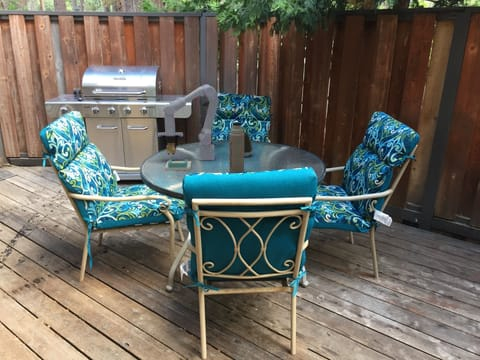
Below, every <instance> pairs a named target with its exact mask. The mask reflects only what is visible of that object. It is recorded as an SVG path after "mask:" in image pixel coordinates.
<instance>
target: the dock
mask: <svg viewBox="0 0 480 360" xmlns="http://www.w3.org/2000/svg"><path fill="white" fill-rule="evenodd" d="M191 166H192V160H188V158H187V159H184V160H175V161H173V160H172V159H169V160H167V161H166V164H165V167H164V171H190V170H191V168H192V167H191Z"/></svg>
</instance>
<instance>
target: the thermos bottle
mask: <svg viewBox="0 0 480 360" xmlns="http://www.w3.org/2000/svg"><path fill="white" fill-rule="evenodd" d="M231 127H232V128H231V129H230V132H229V174H230V173H242V172H244V173H245V157H244V133H243V132H244V128H243V127H242V122H240V121H239V122H237V121H236V122H232V126H231Z"/></svg>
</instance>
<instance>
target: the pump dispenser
mask: <svg viewBox="0 0 480 360" xmlns="http://www.w3.org/2000/svg"><path fill="white" fill-rule="evenodd" d="M243 133H244V158H248V157H249V156H250V155H251V154H252V151H253V144H252V140H251V136H250V134H249V133H248V132H246V131H243Z"/></svg>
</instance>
